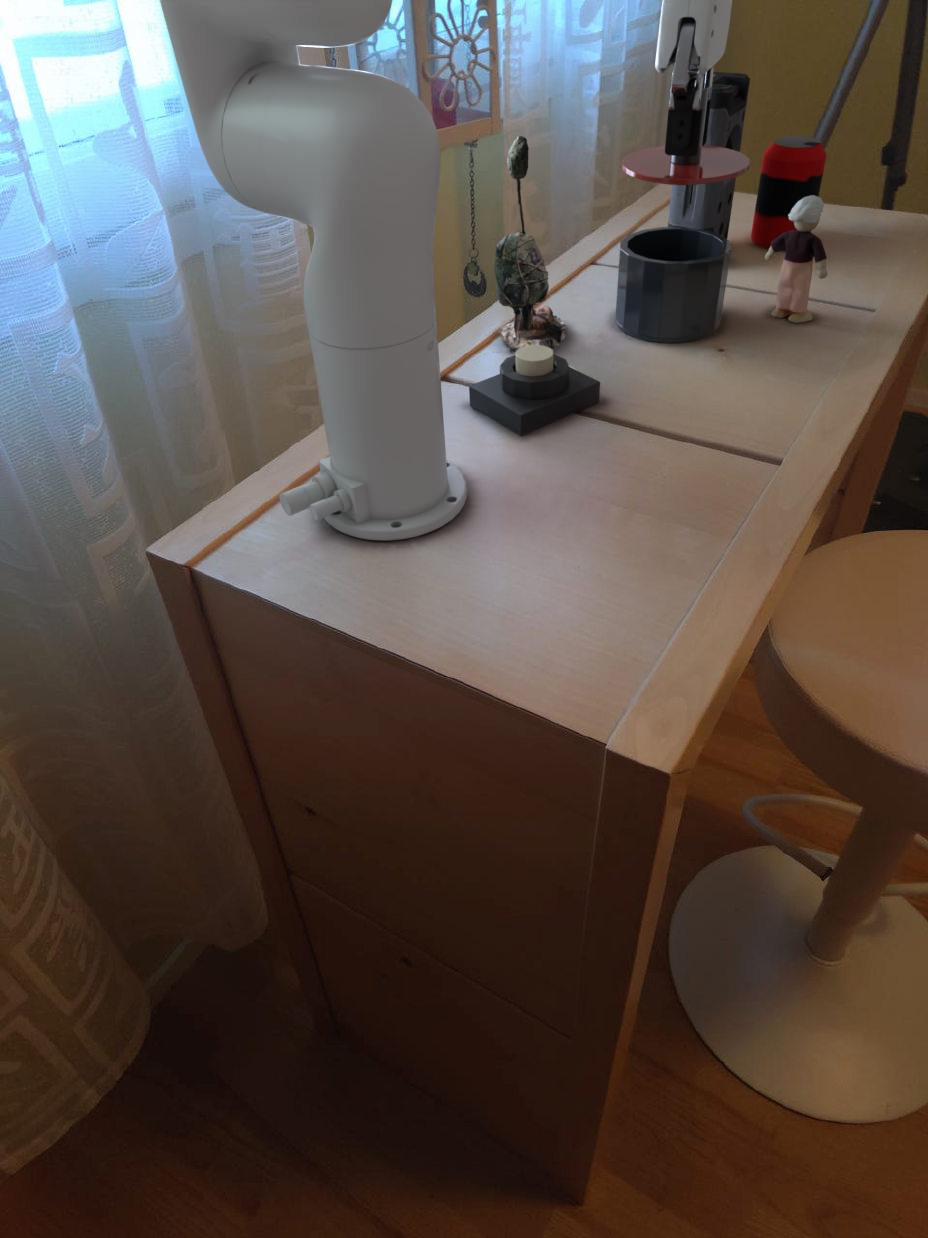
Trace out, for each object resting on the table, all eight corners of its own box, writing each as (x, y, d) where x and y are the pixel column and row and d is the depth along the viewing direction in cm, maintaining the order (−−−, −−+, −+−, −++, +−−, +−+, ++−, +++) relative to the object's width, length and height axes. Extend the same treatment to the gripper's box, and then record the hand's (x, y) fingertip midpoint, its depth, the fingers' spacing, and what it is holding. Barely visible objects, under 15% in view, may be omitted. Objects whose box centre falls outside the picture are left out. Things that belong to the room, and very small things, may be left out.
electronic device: (704, 270, 112) (728, 89, 99) (660, 263, 114) (677, 86, 101) (729, 247, 118) (754, 73, 105) (686, 241, 120) (706, 70, 107)
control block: (521, 436, 83) (520, 397, 80) (469, 406, 88) (467, 368, 85) (599, 402, 87) (601, 364, 85) (546, 375, 92) (546, 338, 90)
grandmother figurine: (827, 316, 100) (853, 196, 91) (812, 328, 98) (838, 206, 89) (763, 301, 104) (783, 185, 95) (747, 312, 101) (767, 194, 93)
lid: (687, 199, 84) (697, 108, 79) (595, 173, 91) (599, 89, 86) (774, 171, 89) (789, 84, 84) (680, 148, 97) (688, 68, 92)
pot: (669, 352, 95) (678, 272, 89) (594, 320, 102) (598, 244, 96) (741, 321, 100) (753, 244, 94) (664, 293, 107) (672, 219, 101)
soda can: (791, 254, 115) (811, 152, 107) (739, 242, 119) (754, 144, 111) (819, 238, 119) (840, 138, 111) (768, 227, 123) (784, 131, 115)
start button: (532, 381, 83) (532, 364, 82) (508, 369, 85) (507, 352, 84) (561, 370, 85) (561, 352, 84) (536, 358, 87) (536, 341, 86)
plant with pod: (472, 354, 97) (463, 153, 84) (520, 315, 104) (519, 125, 91) (539, 368, 93) (540, 161, 80) (583, 327, 101) (592, 131, 88)
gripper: (687, -90, 83) (667, 127, 96) (642, -74, 72) (626, 170, 85) (769, -93, 81) (738, 131, 93) (736, -77, 70) (706, 175, 82)
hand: (685, 147), depth 89 cm, fingers closed on lid, 3 cm apart
